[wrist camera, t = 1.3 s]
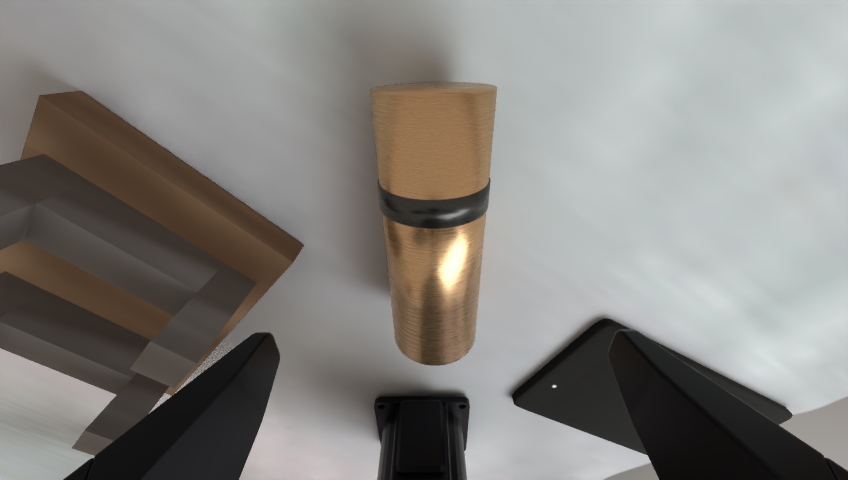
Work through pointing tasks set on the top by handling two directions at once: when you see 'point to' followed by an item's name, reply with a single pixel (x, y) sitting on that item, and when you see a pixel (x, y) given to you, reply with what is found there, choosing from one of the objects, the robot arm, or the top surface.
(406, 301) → the copper tube
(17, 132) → the top surface
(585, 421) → the cell phone
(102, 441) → the collar stand
